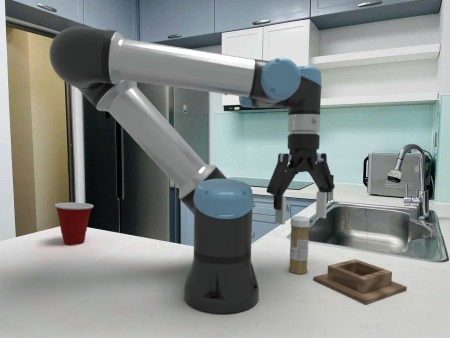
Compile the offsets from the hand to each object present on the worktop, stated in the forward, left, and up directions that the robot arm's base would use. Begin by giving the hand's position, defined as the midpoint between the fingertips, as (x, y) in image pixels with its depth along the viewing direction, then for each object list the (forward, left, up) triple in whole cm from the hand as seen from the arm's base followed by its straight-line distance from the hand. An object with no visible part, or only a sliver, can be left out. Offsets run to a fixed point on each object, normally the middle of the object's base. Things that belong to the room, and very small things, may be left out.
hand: (301, 220), depth 85 cm
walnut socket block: (+6, -13, -13) cm, 19 cm away
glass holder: (+87, +72, -13) cm, 114 cm away
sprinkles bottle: (0, 0, -13) cm, 13 cm away
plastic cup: (-44, +51, -13) cm, 69 cm away
